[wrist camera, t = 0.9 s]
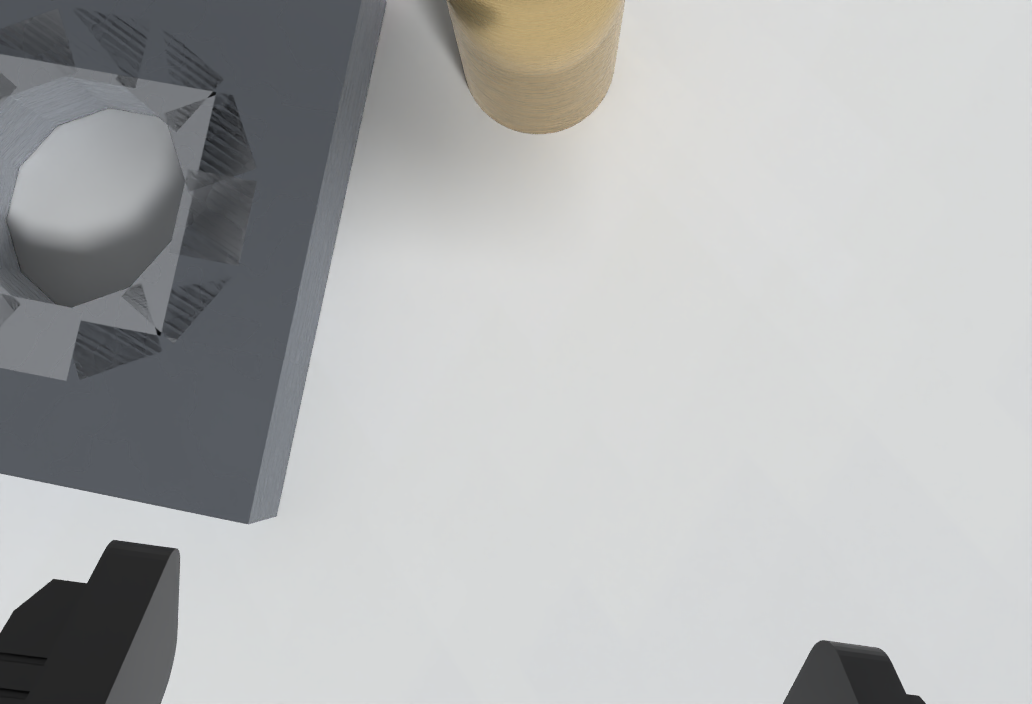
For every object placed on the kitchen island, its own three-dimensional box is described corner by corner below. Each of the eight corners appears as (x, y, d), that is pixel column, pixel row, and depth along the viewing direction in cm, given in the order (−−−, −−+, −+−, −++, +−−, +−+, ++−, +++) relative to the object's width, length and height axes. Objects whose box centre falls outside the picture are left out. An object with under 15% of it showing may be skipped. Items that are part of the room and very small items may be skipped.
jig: (-42, -70, 29) (-97, -117, 27) (386, 2, 28) (370, -40, 26) (-169, 425, 28) (-239, 424, 25) (276, 516, 27) (248, 524, 25)
